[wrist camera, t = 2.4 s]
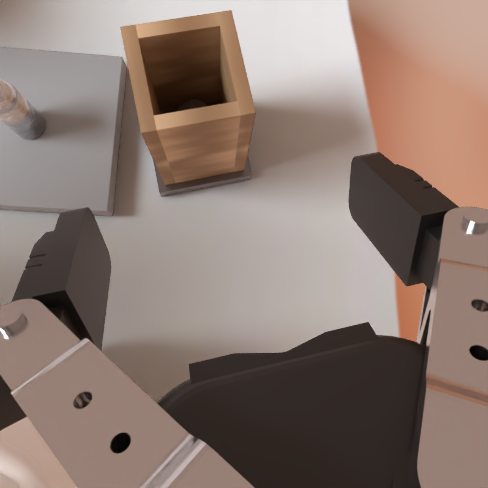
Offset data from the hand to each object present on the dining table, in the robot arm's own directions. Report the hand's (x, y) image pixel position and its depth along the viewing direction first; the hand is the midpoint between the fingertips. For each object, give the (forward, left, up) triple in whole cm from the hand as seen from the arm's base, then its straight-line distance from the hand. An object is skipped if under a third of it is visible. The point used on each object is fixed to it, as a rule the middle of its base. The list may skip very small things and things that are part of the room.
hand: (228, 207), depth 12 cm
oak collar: (-2, +9, -16) cm, 19 cm away
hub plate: (-14, +9, -17) cm, 24 cm away
